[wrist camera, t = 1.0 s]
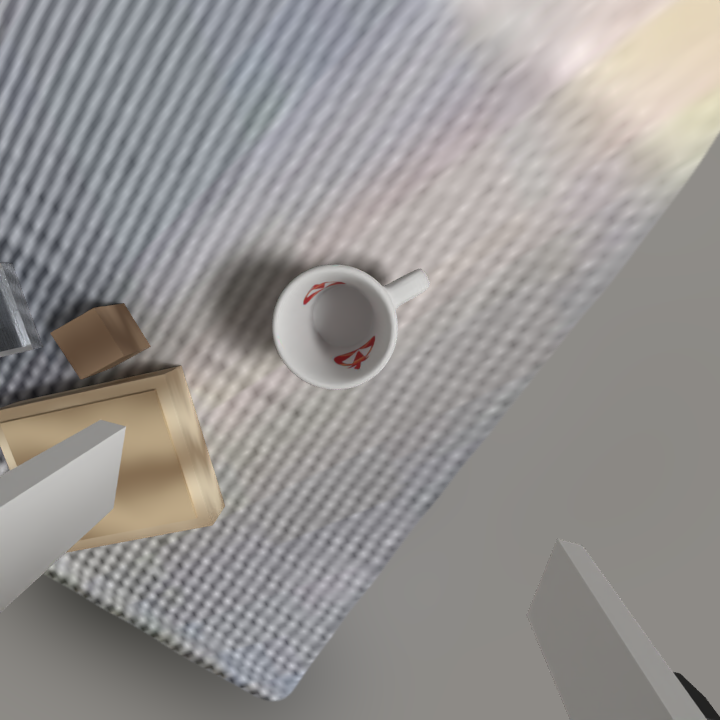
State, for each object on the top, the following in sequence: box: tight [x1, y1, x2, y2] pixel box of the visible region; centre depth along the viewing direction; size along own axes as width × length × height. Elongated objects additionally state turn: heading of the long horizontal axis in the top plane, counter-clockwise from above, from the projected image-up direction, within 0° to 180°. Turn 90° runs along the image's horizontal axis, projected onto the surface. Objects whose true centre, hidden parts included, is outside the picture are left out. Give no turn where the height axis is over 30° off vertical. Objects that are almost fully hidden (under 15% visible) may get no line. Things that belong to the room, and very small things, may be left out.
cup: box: [272, 264, 430, 390], centre depth 32 cm, size 11×8×8 cm
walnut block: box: [51, 303, 151, 380], centre depth 35 cm, size 4×4×4 cm
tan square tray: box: [0, 366, 225, 552], centre depth 38 cm, size 13×15×3 cm
